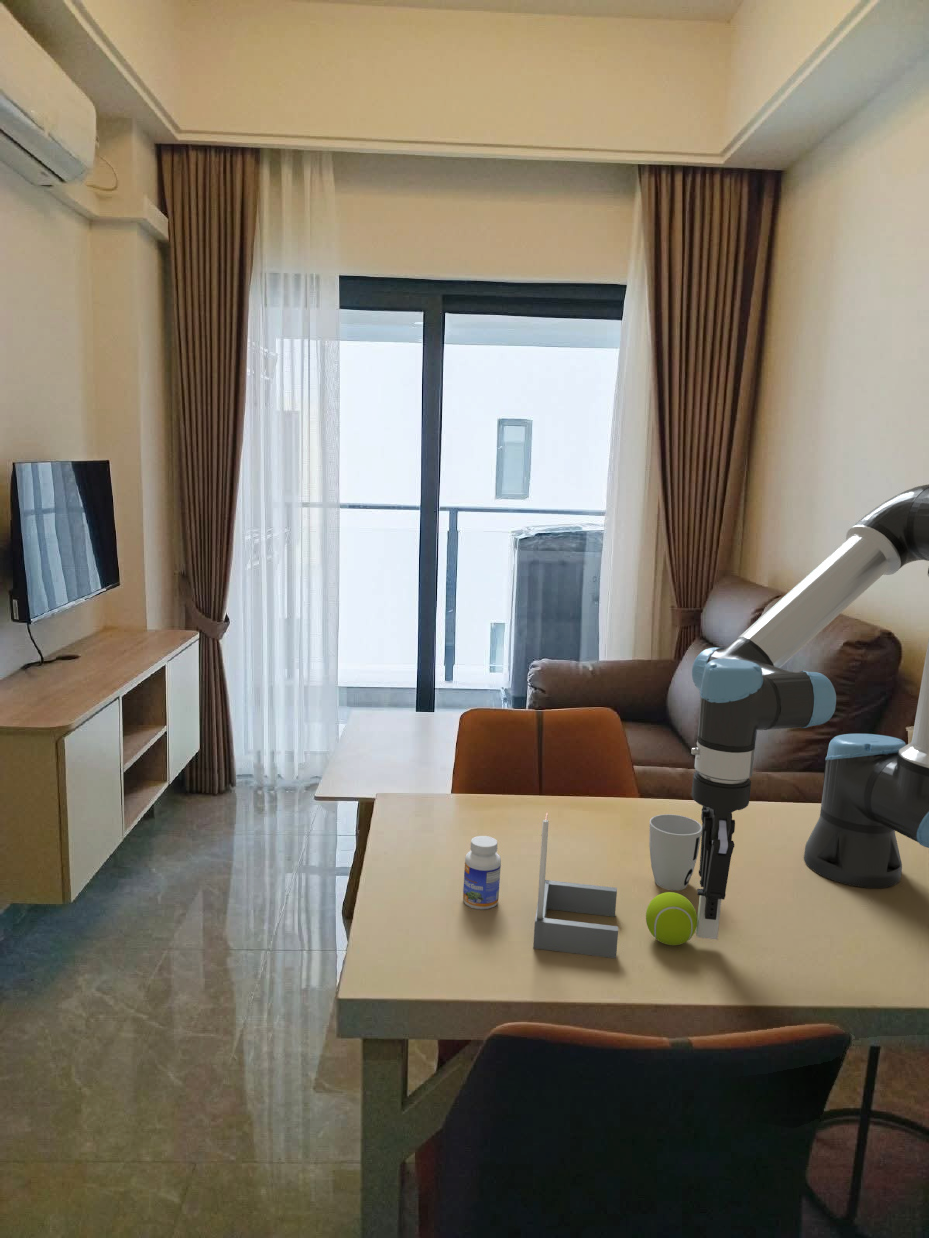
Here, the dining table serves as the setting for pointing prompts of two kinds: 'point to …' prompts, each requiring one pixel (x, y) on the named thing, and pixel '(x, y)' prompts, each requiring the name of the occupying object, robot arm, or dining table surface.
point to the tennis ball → (671, 918)
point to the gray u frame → (573, 900)
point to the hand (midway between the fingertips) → (706, 935)
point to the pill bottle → (482, 873)
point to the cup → (673, 849)
